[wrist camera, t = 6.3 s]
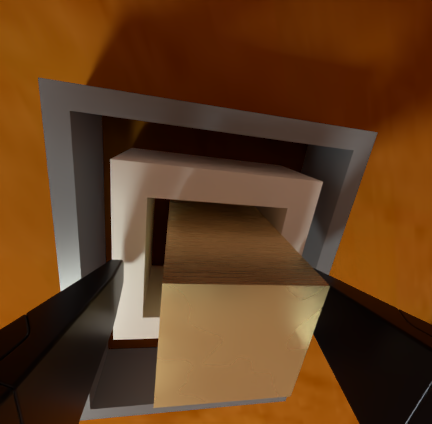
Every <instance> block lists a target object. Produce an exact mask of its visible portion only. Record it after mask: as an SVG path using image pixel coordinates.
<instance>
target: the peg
mask: <svg viewBox="0 0 432 424" xmlns="http://www.w3.org/2000/svg"><path fill="white" fill-rule="evenodd" d="M329 288H330V286H329V284H328V283H327V282H326V281H325V280H324V279H323V278H322V277H321V276H320V275H319V274H318V273H317V272H316V271H315V270H314V269H313V268H312V266H311V265H310V264H309V263H308V262H307V261H306V260H305V259H304V258H303V257H302V256H301V255H300V254H299V253H298V252H297V251H296V250H295V248H294V247H293V246H292V245H291V244H290V243H289V242H288V241H287V240H286V239H285V238H284V237H283V236H282V235H281V234H280V233H279V232H278V230H277V229H276V228H275V227H274V226H273V225H272V224H271V223H270V222H269V221H268V220H267V219H266V218H265V217H264V216H263V215H262V214H261V212H260V211H259V210H258V209H257V208H256V207H255V206H250V205H238V204H225V203H212V202H200V201H187V200H174V199H170V205H169V216H168V227H167V238H166V249H165V260H164V271H163V282H162V295H161V309H160V323H159V337H158V351H157V365H156V379H155V393H154V407H153V408H160V407H172V406H184V405H195V404H207V403H219V402H230V401H242V400H254V399H266V398H277V397H289V396H291V394H292V391H293V388H294V385H295V382H296V380H297V377H298V374H299V371H300V368H301V366H302V363H303V360H304V357H305V355H306V352H307V349H308V346H309V343H310V341H311V338H312V335H313V332H314V329H315V327H316V324H317V321H318V318H319V315H320V313H321V310H322V307H323V304H324V302H325V299H326V296H327V293H328V290H329Z"/></svg>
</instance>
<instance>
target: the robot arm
mask: <svg viewBox="0 0 432 424" xmlns="http://www.w3.org/2000/svg"><path fill="white" fill-rule="evenodd" d="M312 268H313V267H312ZM313 269H314V270H315V271H316V272H317V273H318V274H319V275H320V276H321V277H322V278H323V279H324V280H325V281H326V282H327V283H328V284H329V286H330V288H329V290H328V293H327V296H326V299H325V302H324V304H323V307H322V310H321V313H320V315H319V318H318V321H317V324H316V327H315V329H314V332H313V334H314V336H315V338H316V340H317V342H318V344H319V346H320V348H321V350H322V352H323V354H324V356H325V358H326V360H327V362H328V363H329V365H330V367H331V369H332V371H333V373H334V375H335V377H336V379H337V381H338V383H339V385H340V387H341V389H342V391H343V393H344V394H345V396H346V398H347V400H348V402H349V404H350V406H351V408H352V410H353V412H354V414H355V416H356V418H357V420H358V422H359V424H432V325H431V324H429V323H427V322H425V321H423V320H421V319H418V318H416V317H414V316H412V315H410V314H408V313H406V312H404V311H402V310H398V309H397V308H395V307H393V306H391V305H389V304H387V303H385V302H383V301H381V300H379V299H377V298H375V297H373V296H371V295H369V294H367V293H365V292H362V291H360V290H358V289H356V288H354V287H352V286H350V285H348V284H346V283H344V282H342V281H340V280H338V279H336V278H334V277H331V276H329V275H327V274H325V273H323V272H321V271H319V270H317V269H315V268H313ZM123 282H124V262H123V260H114V259H112V260H110V261H108V262H106V263H105V264H103V265H102V266H100V267H99V268H97V269H95V270H94V271H92V272H91V273H89V274H88V275H86V276H84V277H83V278H81V279H80V280H78V281H77V282H75V283H73V284H72V285H70V286H69V287H67V288H65V289H64V290H62V291H61V292H59V293H58V294H56V295H54V296H53V297H51V298H50V299H48V300H47V301H45V302H43V303H42V304H40V305H39V306H37V307H35V308H34V309H32V310H31V311H29V312H28V313H27V314H26V315H23V316H21V317H20V318H18V319H16V320H15V321H13V322H12V323H10V324H8V325H7V326H5V327H3V328H2V329H0V424H79V421H80V418H81V415H82V412H83V410H84V407H85V404H86V401H87V399H88V396H89V393H90V390H91V387H92V385H93V382H94V379H95V376H96V373H97V371H98V368H99V365H100V362H101V360H102V357H103V354H104V351H105V348H106V346H107V343H108V340H109V337H110V335H111V332H112V329H113V326H114V322H115V318H116V314H117V310H118V305H119V301H120V296H121V292H122V288H123Z"/></svg>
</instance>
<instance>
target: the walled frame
mask: <svg viewBox="0 0 432 424" xmlns="http://www.w3.org/2000/svg"><path fill="white" fill-rule="evenodd" d="M38 81H39V91H40V100H41V110H42V119H43V129H44V138H45V147H46V157H47V166H48V176H49V185H50V195H51V204H52V213H53V223H54V232H55V242H56V251H57V261H58V270H59V279H60V289H61V291H62V290H64V289H65V288H67V287H69V286H70V285H72V284H73V283H75V282H77V281H78V280H80V279H81V278H83V277H84V276H86V275H88V274H89V273H91V272H92V271H94V270H95V269H97V268H99V267H100V266H102V265H103V264H105V263H106V241H105V204H104V167H103V130H102V115H104V116H111V117H118V118H125V119H133V120H140V121H147V122H154V123H161V124H168V125H175V126H182V127H190V128H197V129H204V130H211V131H218V132H225V133H232V134H239V135H247V136H254V137H261V138H268V139H275V140H282V141H289V142H297V143H304V144H308V146H307V150H306V154H305V158H304V162H303V166H302V170H301V173H299V172H297V171H294V170H292V169H289V168H286V167H284V166H281V165H274V164H266V163H257V162H249V161H240V160H232V159H223V158H215V157H206V156H198V155H189V154H181V153H172V152H164V151H155V150H147V149H138V148H130V149H128V150H126V151H124V152H123V153H121V154H119V155H117V156H115V157H113V158H111V159H110V182H111V240H112V259H114V260H123V262H124V282H123V288H122V292H121V296H120V301H119V305H118V310H117V314H116V318H115V322H114V326H113V340H123V339H152V338H158V337H159V323H160V309H161V295H162V282H163V271H164V266H153V265H152V248H153V227H154V206H155V198H162V199H174V200H187V201H200V202H212V203H225V204H238V205H250V206H255V207H256V208H257V209H258V210H259V211H260V212H261V214H262V215H263V216H264V217H265V218H266V219H267V220H268V221H269V222H270V223H271V224H272V225H273V226H274V227H275V228H276V229H277V230H278V232H279V233H280V234H281V235H282V236H283V237H284V238H285V239H286V240H287V241H288V242H289V243H290V244H291V245H292V246H293V247H294V248H295V250H296V251H297V252H298V253H299V254H300V255H301V256H302V257H303V258H304V259H305V260H306V261H307V262H308V263H309V264H310V265H311V266H312V267H313V268H315V269H317V270H319V271H321V272H323V273H325V274H327V275H329V272H330V269H331V266H332V264H333V261H334V258H335V255H336V252H337V249H338V246H339V243H340V240H341V237H342V235H343V232H344V229H345V226H346V223H347V220H348V217H349V214H350V211H351V208H352V205H353V203H354V200H355V197H356V194H357V191H358V188H359V185H360V182H361V179H362V176H363V173H364V171H365V168H366V165H367V162H368V159H369V156H370V153H371V150H372V147H373V144H374V141H375V139H376V136H377V133H378V132H372V131H366V130H359V129H353V128H347V127H341V126H335V125H329V124H322V123H316V122H310V121H304V120H298V119H291V118H285V117H279V116H273V115H267V114H260V113H254V112H248V111H242V110H236V109H229V108H223V107H217V106H211V105H205V104H198V103H192V102H186V101H180V100H174V99H167V98H161V97H155V96H149V95H143V94H137V93H130V92H124V91H118V90H112V89H106V88H99V87H93V86H87V85H81V84H75V83H68V82H62V81H56V80H50V79H44V78H38ZM157 351H158V347H153V348H129V349H108V343H107V346H106V348H105V351H104V354H103V357H102V360H101V362H100V365H99V368H98V371H97V373H96V376H95V379H94V382H93V385H92V387H91V390H90V393H89V396H88V399H87V401H86V404H85V407H84V410H83V412H82V415H81V418H80V420H90V419H100V418H111V417H121V416H132V415H142V414H153V413H163V412H174V411H184V410H195V409H205V408H216V407H226V406H237V405H247V404H258V403H268V402H279V401H285V400H286V397H277V398H266V399H254V400H242V401H230V402H219V403H207V404H195V405H184V406H172V407H160V408H153V407H154V393H155V379H156V365H157Z"/></svg>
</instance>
